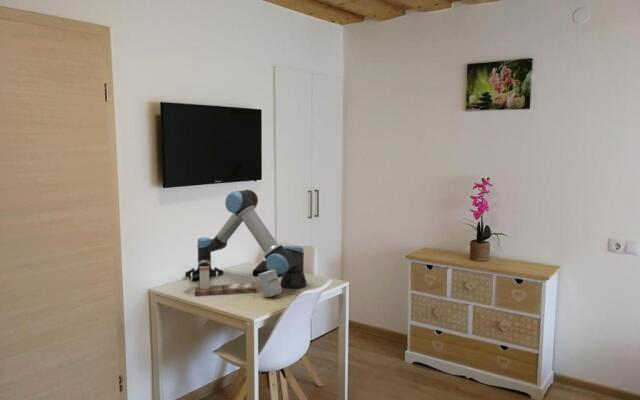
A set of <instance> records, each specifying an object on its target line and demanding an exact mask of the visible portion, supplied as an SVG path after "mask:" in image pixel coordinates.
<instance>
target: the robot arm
mask: <svg viewBox="0 0 640 400" xmlns="http://www.w3.org/2000/svg"><path fill="white" fill-rule="evenodd" d="M224 202H225V204H224V205H225V208H226V210H227V211H228V212H229V213H232V214H231V215H230V217H229V218H228V219H227V221H226V222H225V223H224V225H223V226H222V227H221V228H220V230H219V231H218V232H217V234H216V235H215V237H214V238H210V237H207V236H206V237H200V238H198V239H197V245H196V246H197V269H195V268H191V269H190V270H187V271H186V272H185V278H188V279H190V281H193V277H195V276H200V271H199V266H209V276H210V275H213V276H216V278H215V279H216V280H219V277H221V276H224V270H223V269H220V268H217V267H216V266H215V267H214V268H212V257H211V254H212V253H213V252H217V251H220V250H223V249H225V248H226V247H227V245H228V241H229V239H230V238H231V237H232V236H233V235H234V233H235V232H236V231H237V230H238V228H239V227H240V225H241V224H242V223H244V225H245V226H246V228H247V229H248V231H249V232H250V233H251V234H252V236H253V238H254V239H255V240H256V242H257V243H258V245H259V247H260V248H261V249H262V251H263V252H264V259H265V261H266V267H267V269H268V270H269V271H270V270H276V273H277V275H279V274H283V275H282V276H281V277H280V280H279V283H280V286H281V288H284V289H289V290H297V289H302V288H303V289H304V288H305V287H307V285H308V284H307V279H306V275H305V273H304V270H305V269H304V267H305V264H304V261H305V259H304V256H305V255H304V254H305V251H304V248H303V247H302V246H298V245H284V246H283V245H282V244H279V243H277V241H276V240H275V238H274V236H273V235H272V234H271V232H270V230H268V227H267V226H266V225H265V224H264V222H263V220H262V218H260V216H259V215H258V213H257V212H256V210H255V209H256V208H257V207H258V202H259V198H258V195H257V194H256V192H255V191H253V190H251V189H245V190H244V189H242V190H235V191H232V192H230V193H228V194H227V195H226V197H225V201H224Z"/></svg>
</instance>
